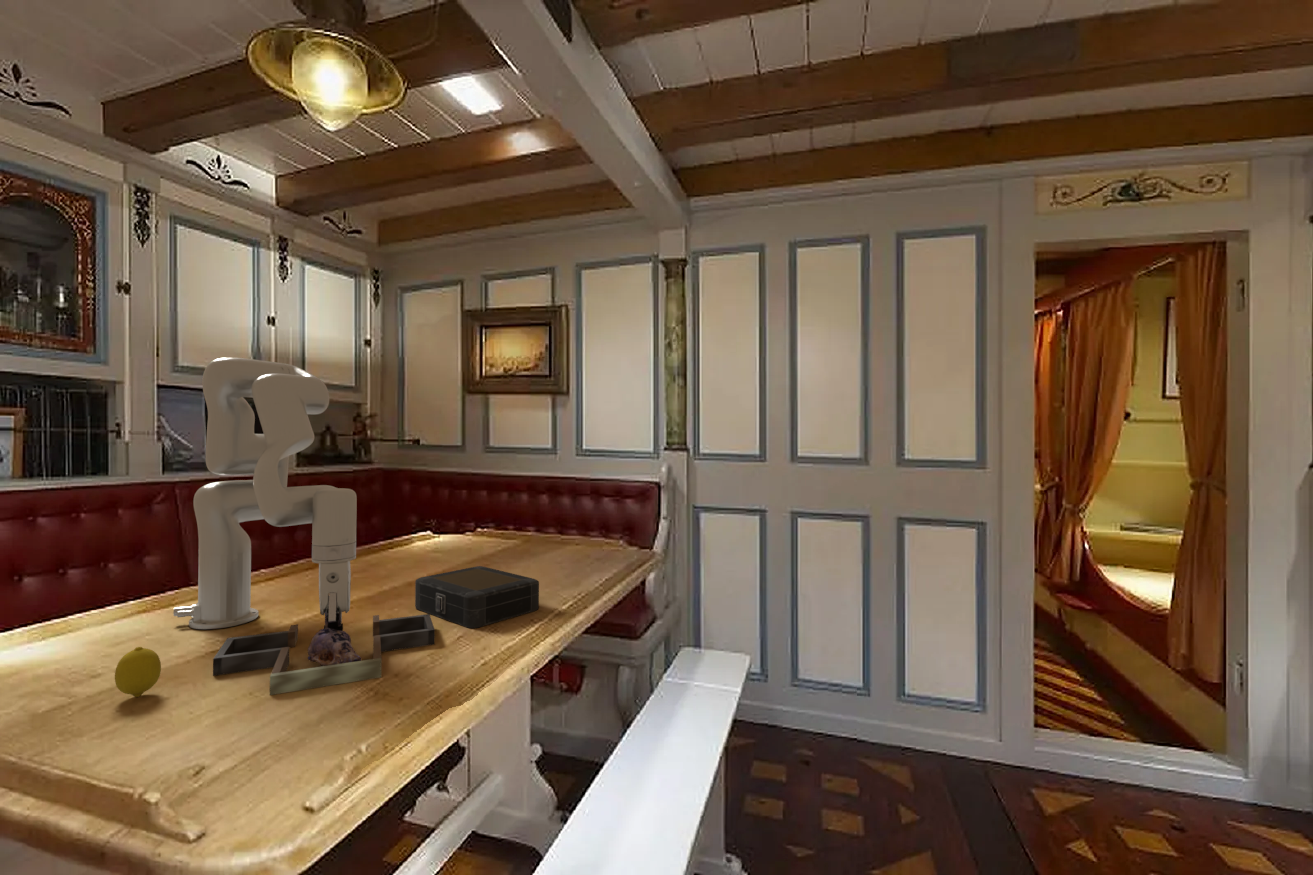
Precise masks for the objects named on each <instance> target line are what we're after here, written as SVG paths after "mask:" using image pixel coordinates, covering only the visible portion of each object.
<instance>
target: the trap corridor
mask: <svg viewBox="0 0 1313 875" xmlns="http://www.w3.org/2000/svg"><path fill="white" fill-rule="evenodd" d="M435 633H436V631H435V627H434V623H433V620H432V618H431V614H429V613H424V614H418V615H410V616H409V615H408V616H403V617H402V616H401V617H400V616H399V617H394V618H383V619H380V614H377V615H372V638H373V639H372V640H373V641H372V642H373V643H372V644H373V645H372V648H373V650H372V654H373V656H372V658H369V659H363V660H361V661H356V662H349V663H342V664H335V665H328V666H322V665H321V666H316V667H309V668H301V669H294V670H289V671H287V670H288V667H289V664H290V648H295V647H296V644H297V642H298V640H299V639H298V638H299V637H298V636H299V635H298V634H299V624H291V625H290V627H289V629H288V630H285V631H284V630H283V631H278V632H277V631H275V632H274V631H273V632H269V633H268V632H267V633H259V634H258V633H257V634H251V635H243V636H233V637H227V638H226V640H225V641H224V643H223V644H222V645H221V647H220V649H219V650H218V651H217V653H216V654H215V655H214V657H213V658H212V664H213V665H212V676H213V677H214V676H219V675H227V674H229V675H230V674H234V673H242V672H249V671H256V670H263V669H271V668H272V671H271V673H270V676H269V696H272V695H278V694H285V693H290V692H298V691H303V690H304V691H305V690H310V689H315V688H323V687H329V686H335V685H340V684H341V685H342V684H348V683H353V682H361V681H367V680H372V679H379V678H382V653H383V652H390V651H397V650H404V649H412V648H419V647H425V646H432V645H433V646H434V645H435V638H436V637H435V636H436V634H435Z"/></svg>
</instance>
